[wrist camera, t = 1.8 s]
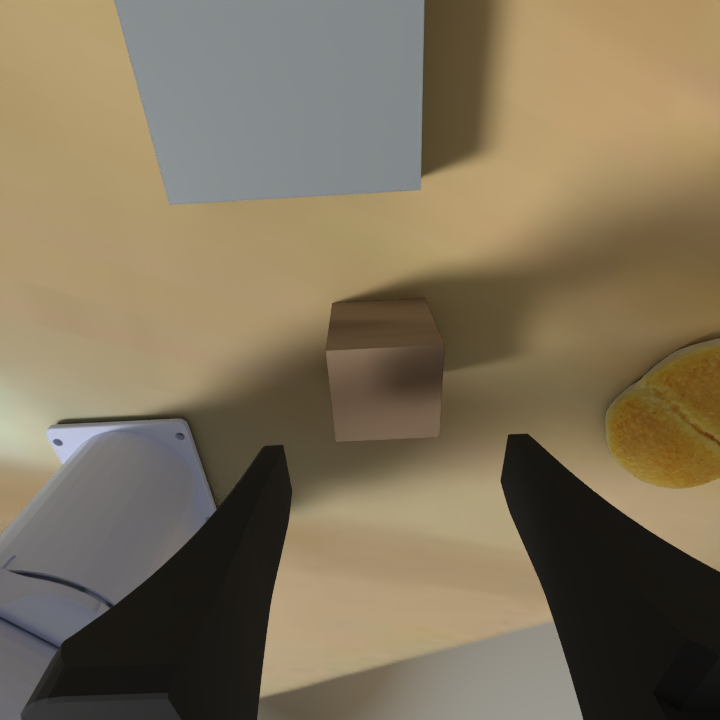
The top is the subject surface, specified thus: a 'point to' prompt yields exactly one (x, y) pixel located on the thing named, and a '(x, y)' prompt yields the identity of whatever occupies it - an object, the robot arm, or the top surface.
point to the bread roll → (671, 420)
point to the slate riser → (279, 95)
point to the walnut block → (384, 370)
